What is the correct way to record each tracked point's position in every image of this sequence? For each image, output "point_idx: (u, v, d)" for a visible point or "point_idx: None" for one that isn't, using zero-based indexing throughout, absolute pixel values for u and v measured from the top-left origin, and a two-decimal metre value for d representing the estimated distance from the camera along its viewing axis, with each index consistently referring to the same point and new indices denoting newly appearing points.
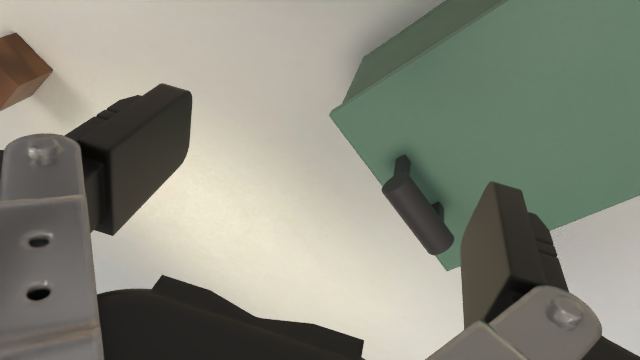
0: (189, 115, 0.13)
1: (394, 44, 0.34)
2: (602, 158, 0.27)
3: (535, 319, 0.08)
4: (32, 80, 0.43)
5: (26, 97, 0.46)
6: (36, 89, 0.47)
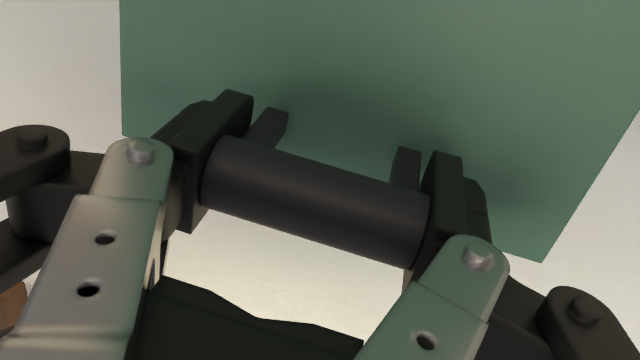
0: (250, 119, 0.13)
1: None
2: None
3: (455, 268, 0.08)
4: None
5: None
6: None
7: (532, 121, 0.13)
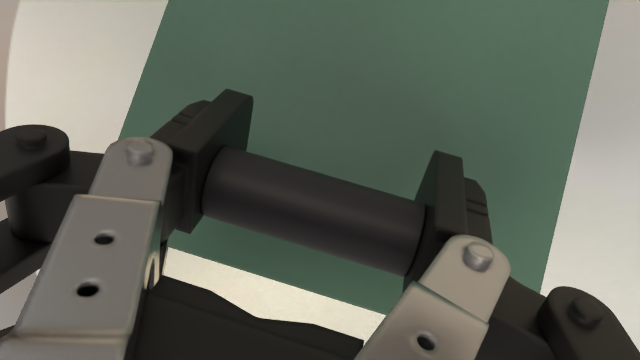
0: (250, 119, 0.13)
1: None
2: None
3: (456, 268, 0.08)
4: None
5: None
6: None
7: None
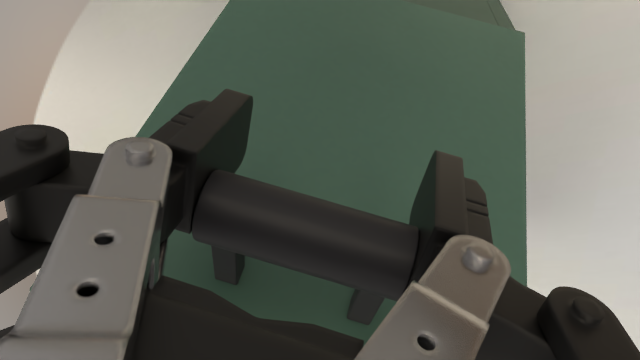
0: (249, 119, 0.13)
1: None
2: (446, 107, 0.20)
3: (456, 268, 0.08)
4: None
5: None
6: None
7: None
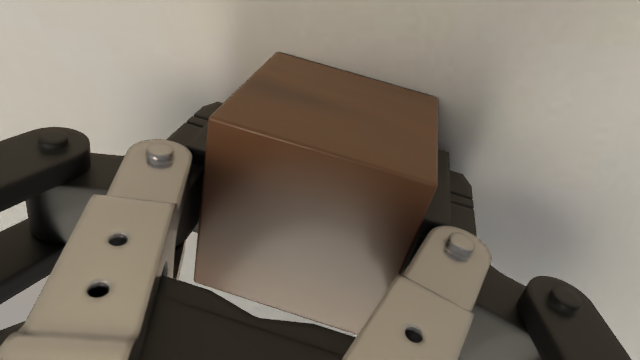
0: None
1: None
2: None
3: (438, 259, 0.08)
4: (251, 86, 0.10)
5: (427, 106, 0.12)
6: (393, 85, 0.12)
7: None
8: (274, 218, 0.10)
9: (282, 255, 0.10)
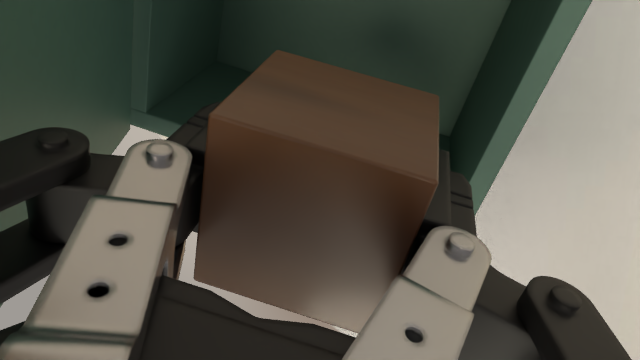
0: None
1: None
2: None
3: (438, 259, 0.08)
4: (251, 83, 0.10)
5: (428, 103, 0.11)
6: (394, 83, 0.12)
7: None
8: (275, 217, 0.10)
9: (283, 253, 0.10)
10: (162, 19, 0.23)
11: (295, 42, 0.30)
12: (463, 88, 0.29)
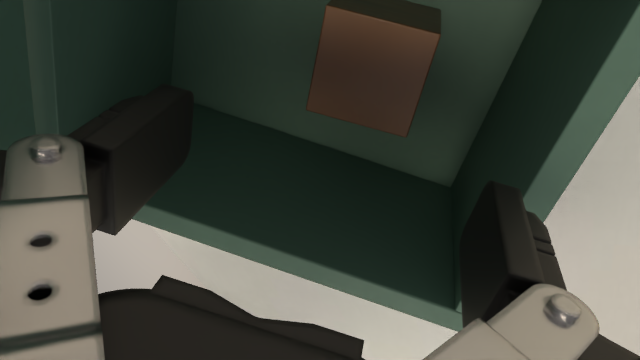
0: (191, 115, 0.13)
1: None
2: None
3: (533, 317, 0.08)
4: None
5: (434, 11, 0.20)
6: None
7: None
8: (356, 62, 0.19)
9: (359, 85, 0.19)
10: (75, 58, 0.17)
11: (263, 74, 0.24)
12: (467, 132, 0.24)
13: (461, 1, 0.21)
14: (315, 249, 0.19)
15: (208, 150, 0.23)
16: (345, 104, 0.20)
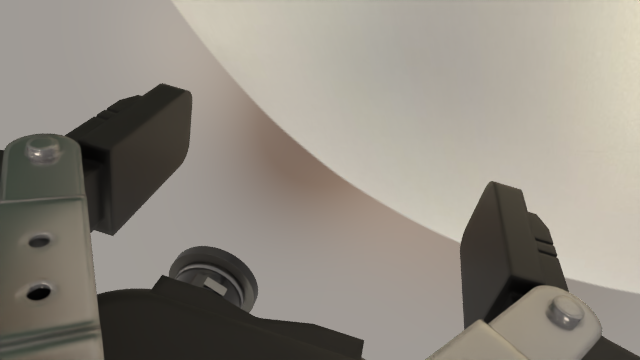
0: (189, 115, 0.13)
1: None
2: None
3: (535, 319, 0.08)
4: None
5: None
6: None
7: None
8: None
9: None
10: None
11: None
12: None
13: None
14: None
15: None
16: None
